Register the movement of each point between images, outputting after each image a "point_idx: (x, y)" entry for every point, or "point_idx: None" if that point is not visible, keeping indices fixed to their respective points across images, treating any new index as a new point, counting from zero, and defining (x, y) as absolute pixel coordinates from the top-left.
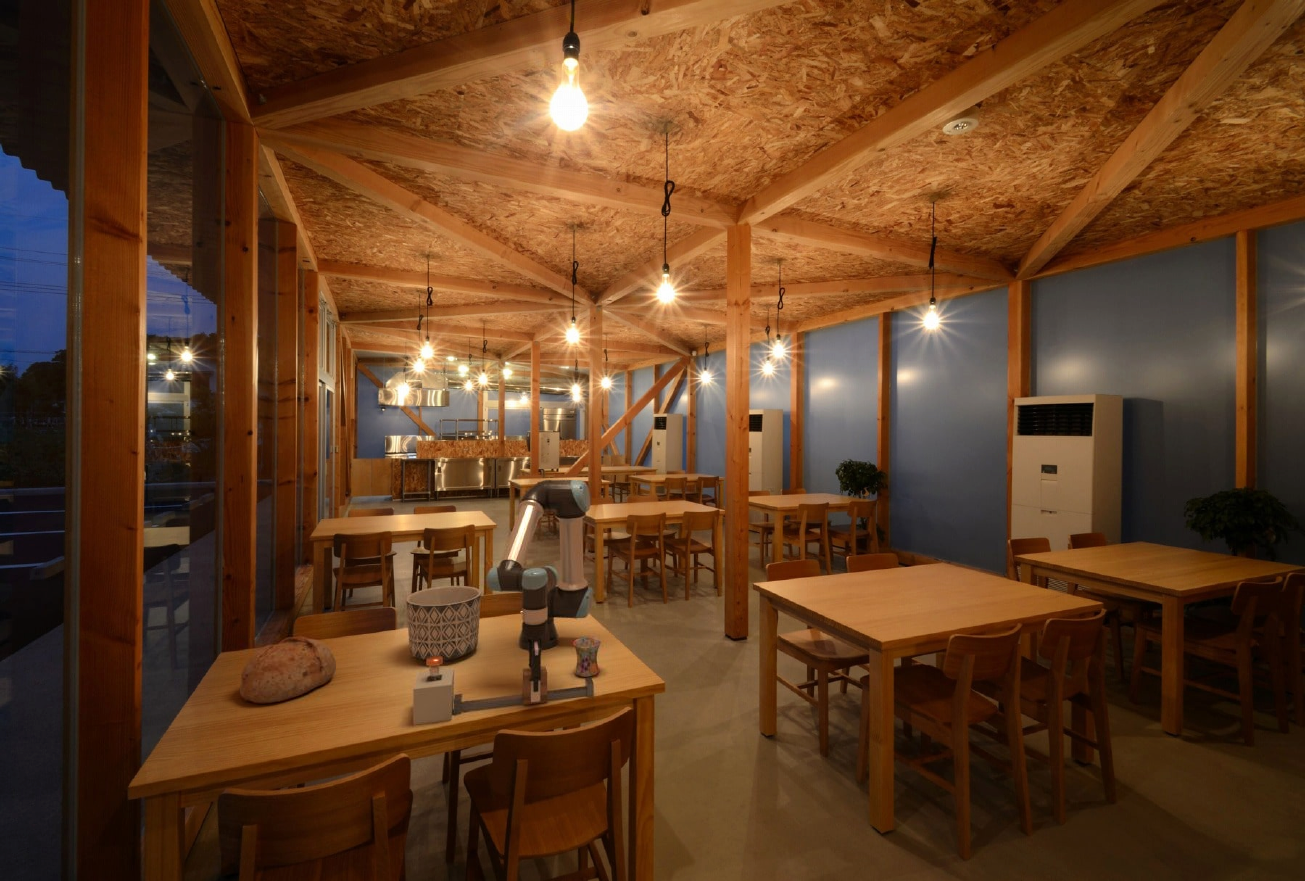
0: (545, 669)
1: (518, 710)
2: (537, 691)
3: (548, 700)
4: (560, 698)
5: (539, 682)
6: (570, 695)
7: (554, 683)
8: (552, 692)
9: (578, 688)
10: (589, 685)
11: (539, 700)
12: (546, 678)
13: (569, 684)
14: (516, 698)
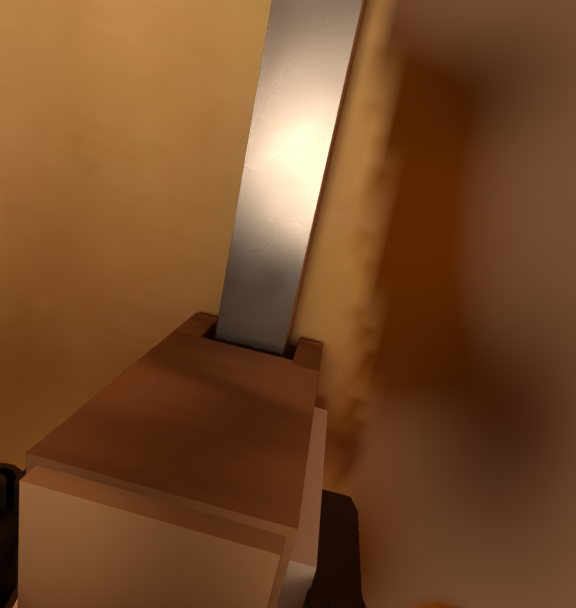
0: (172, 531)
1: None
2: (350, 507)
3: (292, 321)
4: (314, 227)
5: (315, 541)
6: (334, 132)
7: (12, 171)
8: (267, 296)
9: (310, 10)
10: None
11: (325, 418)
12: (303, 478)
13: (70, 46)
14: None
